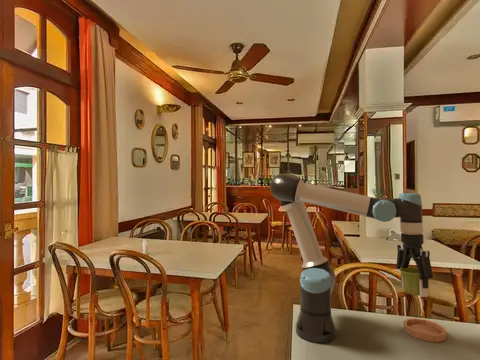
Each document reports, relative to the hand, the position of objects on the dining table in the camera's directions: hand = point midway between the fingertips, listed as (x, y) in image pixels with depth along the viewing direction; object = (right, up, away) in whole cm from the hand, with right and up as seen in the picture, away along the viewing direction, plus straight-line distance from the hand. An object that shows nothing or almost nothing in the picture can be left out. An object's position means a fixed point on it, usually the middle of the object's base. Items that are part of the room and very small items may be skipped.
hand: (414, 292), depth 113 cm
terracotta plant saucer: (+5, -16, +2) cm, 17 cm away
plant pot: (0, 0, 0) cm, 1 cm away
